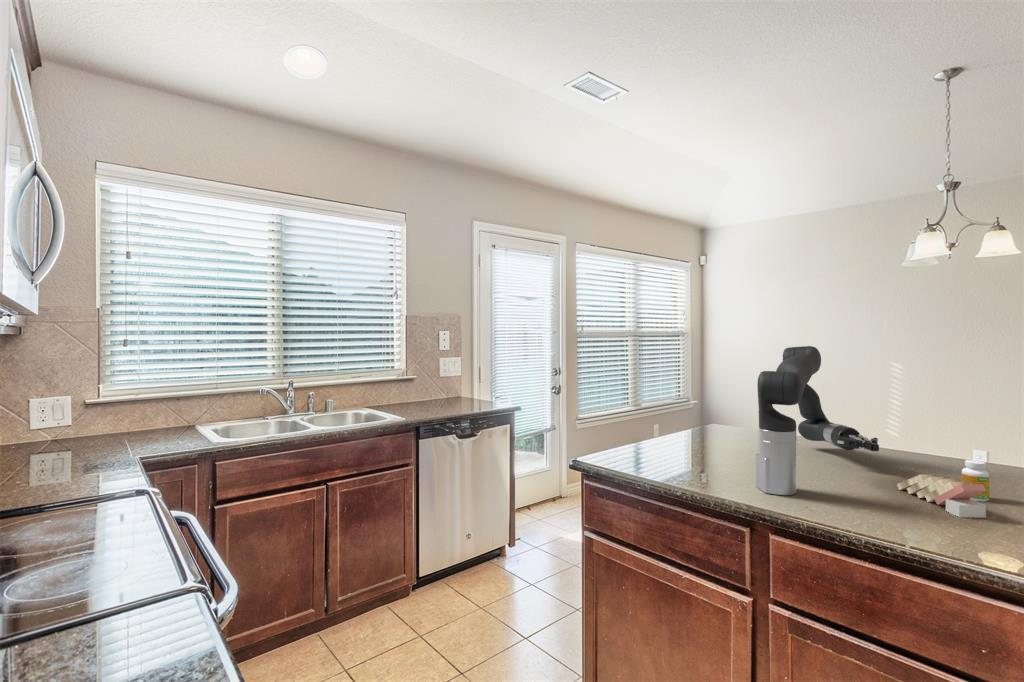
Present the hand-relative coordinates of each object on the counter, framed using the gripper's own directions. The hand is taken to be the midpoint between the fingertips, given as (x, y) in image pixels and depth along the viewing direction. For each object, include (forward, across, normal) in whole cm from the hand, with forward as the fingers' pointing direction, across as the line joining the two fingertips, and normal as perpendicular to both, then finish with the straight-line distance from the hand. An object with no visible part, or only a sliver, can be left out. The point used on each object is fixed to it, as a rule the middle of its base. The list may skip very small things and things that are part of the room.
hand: (876, 448), depth 152 cm
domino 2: (+16, 0, +8) cm, 18 cm away
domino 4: (+22, 0, +8) cm, 24 cm away
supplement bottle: (+20, +12, +9) cm, 25 cm away
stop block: (+31, 0, +9) cm, 33 cm away
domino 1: (+12, 0, +8) cm, 15 cm away
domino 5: (+26, 0, +8) cm, 27 cm away
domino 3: (+20, 0, +8) cm, 21 cm away
